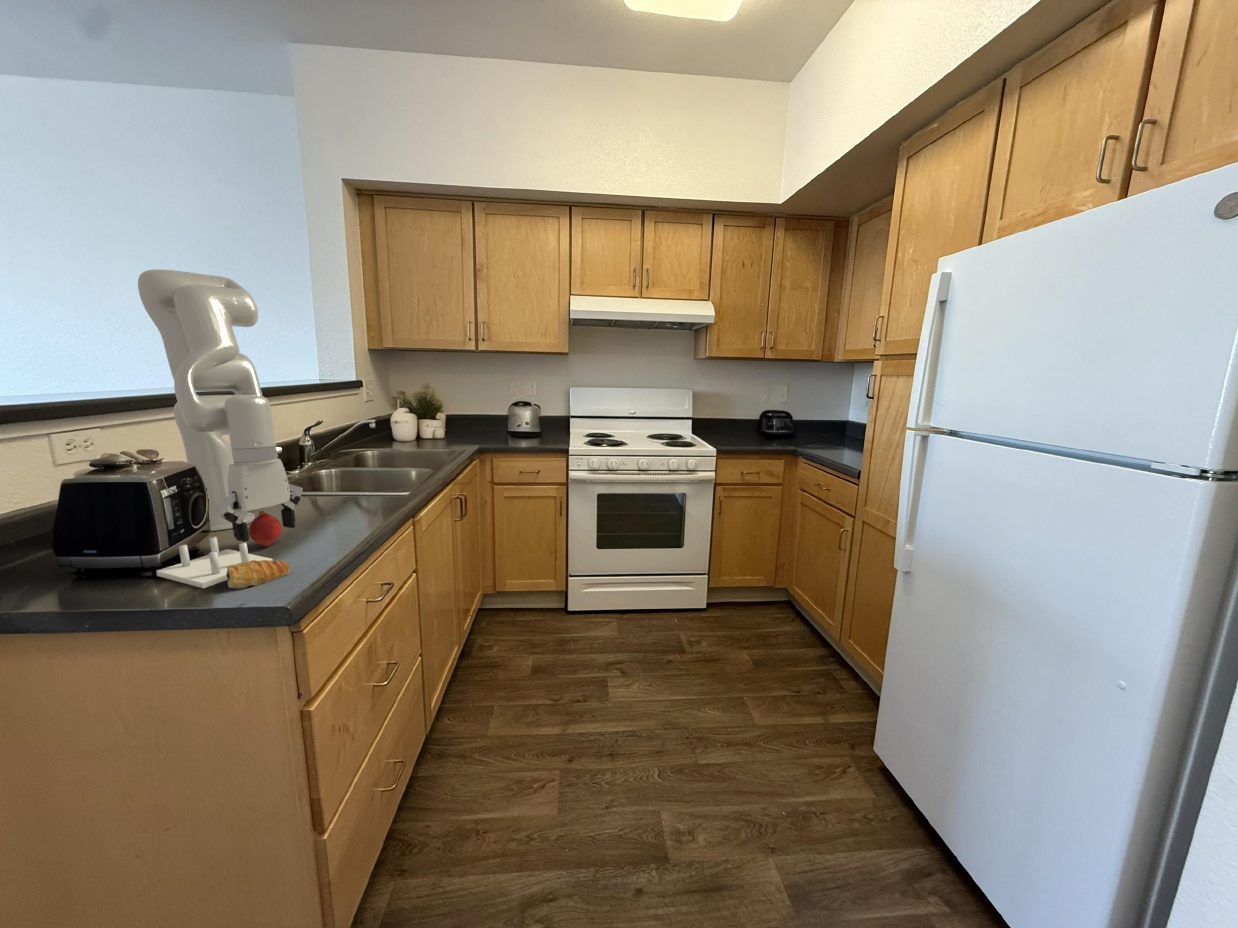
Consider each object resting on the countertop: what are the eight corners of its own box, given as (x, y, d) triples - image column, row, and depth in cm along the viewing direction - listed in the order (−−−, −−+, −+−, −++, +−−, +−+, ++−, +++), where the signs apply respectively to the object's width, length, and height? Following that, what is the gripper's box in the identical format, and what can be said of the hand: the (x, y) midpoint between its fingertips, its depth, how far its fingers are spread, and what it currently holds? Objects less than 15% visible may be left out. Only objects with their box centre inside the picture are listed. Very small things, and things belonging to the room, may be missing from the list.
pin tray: (157, 575, 90) (152, 550, 89) (228, 553, 101) (224, 530, 100) (203, 588, 85) (198, 561, 84) (273, 563, 96) (269, 539, 95)
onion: (278, 539, 109) (274, 505, 108) (287, 545, 106) (283, 510, 104) (247, 546, 105) (242, 511, 103) (255, 553, 101) (250, 516, 100)
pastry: (285, 567, 95) (283, 549, 94) (294, 578, 90) (291, 558, 89) (224, 582, 88) (221, 562, 87) (230, 594, 83) (227, 573, 83)
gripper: (284, 448, 111) (294, 520, 114) (196, 461, 95) (210, 544, 98) (307, 450, 108) (316, 524, 111) (220, 463, 92) (234, 548, 95)
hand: (267, 533), depth 104 cm, fingers open, 9 cm apart
